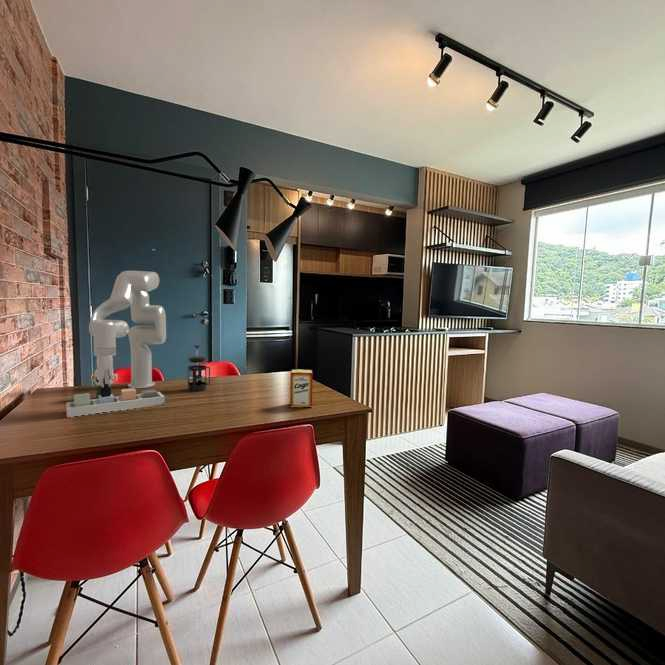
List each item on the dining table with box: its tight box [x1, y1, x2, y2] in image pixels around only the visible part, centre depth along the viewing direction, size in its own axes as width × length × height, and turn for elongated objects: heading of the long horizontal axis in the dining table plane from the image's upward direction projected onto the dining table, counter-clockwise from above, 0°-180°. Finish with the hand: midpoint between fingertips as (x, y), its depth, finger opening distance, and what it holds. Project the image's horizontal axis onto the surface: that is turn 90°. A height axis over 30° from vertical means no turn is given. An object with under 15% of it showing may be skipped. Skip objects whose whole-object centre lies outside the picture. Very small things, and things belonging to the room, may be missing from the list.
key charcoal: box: [141, 389, 158, 399], centre depth 154 cm, size 5×5×4 cm
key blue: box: [98, 393, 115, 404], centre depth 144 cm, size 5×5×4 cm
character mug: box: [90, 369, 118, 399], centre depth 159 cm, size 11×7×13 cm, turn 100°
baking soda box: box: [289, 368, 314, 407], centre depth 156 cm, size 10×6×16 cm
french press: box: [186, 344, 211, 393], centre depth 179 cm, size 12×9×23 cm
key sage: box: [73, 392, 91, 407], centre depth 139 cm, size 5×5×4 cm
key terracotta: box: [120, 388, 137, 401], centre depth 149 cm, size 5×5×4 cm
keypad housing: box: [65, 391, 166, 418], centre depth 146 cm, size 10×34×4 cm, turn 128°
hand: (105, 396), depth 143 cm, fingers closed
